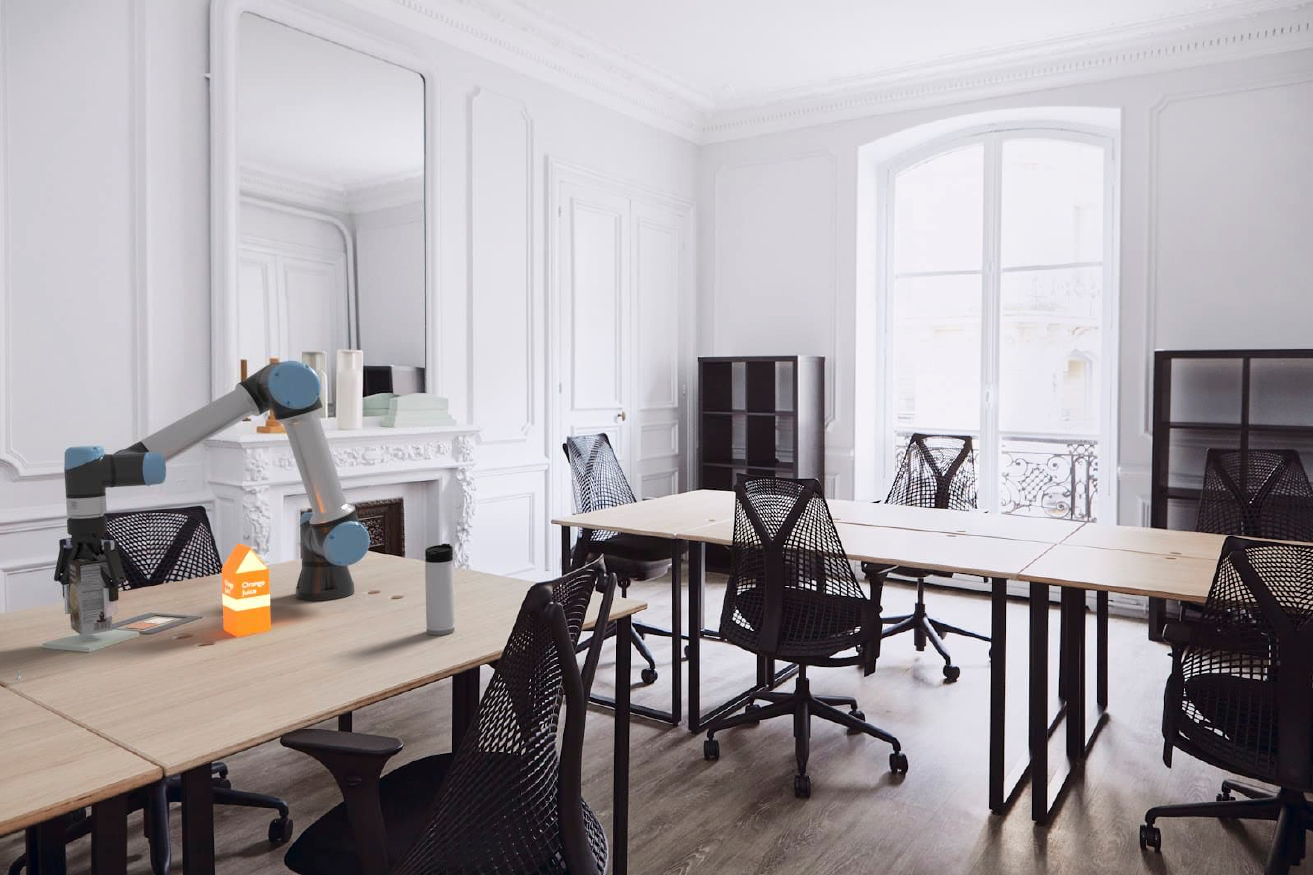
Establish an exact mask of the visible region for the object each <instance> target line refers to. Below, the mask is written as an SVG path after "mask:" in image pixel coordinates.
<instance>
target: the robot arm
mask: <svg viewBox="0 0 1313 875" xmlns="http://www.w3.org/2000/svg"><path fill="white" fill-rule="evenodd" d="M321 385H322V384H321V379H320V377H319V375H318V373H317V372H316V371H315V370H314V369H313V368H312V367H311V366H309V365H307V364H306V363H304V362H300V361H297V360H287V361H278V362H272V363H269V364H267V365H266V366H264V367H262V368H260V369H259V370H258V371H257V372H254V373H253V374H251V375H250V376H249V377H247V378H245V379H244V380H242V381H240V382H238V383H236V384H235V388H234V390H232V391H230V392H229V393H227V394H224V395H222V396H221V397H219V398H217V399H215V400H213V401H211V402H210V403H208V404H206V405H204V406H202V407H200V408H198V409H197V410H195V411H193V412H191V413H190V414H189V413H188V415H185V416H184V417H182V418H180V419H179V420H176V421H174V422H173V423H171V424H169V425H167V426H165V427H163V428H161V429H160V430H158V431H156V432H153V433H152V434H150V435H148V436H147V437H145V438H143V439H141V440H139V441H138V442H136V443H134V444H131V445H130V446H128V447H126V448H121V449H120V450H117V451H115V452H114V453H113V454H111V453H110V454H108V453H106V452H105V449H104V447H102V446H101V445H90V446H89V445H84V446H72V447H68V448H66V449H65V451H64V461H63V462H64V467H63V470H64V486H65V502H66V503H65V504H66V515H67V516H68V518H67V519H66V528H67V529H66V530H67V531H66V532H67V534H68V535H69V536H70V537H67V538H61V539H59V540H58V544H59V552H58V557H57V561H56V567H55V571H54V576H53V581H55V582H59V583H60V585H61V586H62V597H63V599H64V614H65V615H70V599H69V578H68V576H69V567H68V559H72V560H75V559H79V558H84V557H86V558H90V559H91V561H101V560H105V559H106V562H107V565H108V568H106V567H104V566H102V565H100V569H101V576H102V578H103V580H104V582H105V584H106V586H105V587H104V588H103V593H104V615H105V617H110V616H112V617H114V616H116V615H118V611H119V610H118V601H119V598H120V596H119V586H120V585H122V584H125V583H126V582H127V578H126V574H125V571H124V568H123V565H122V561H121V558H120V553H119V551H118V541H117V539H112V540H106V537H105V533H107V531H108V517H107V515H104V514H106V513H107V510H108V509H107V507H108V506H107V495H106V493H107V492H106V490H107V488H119V487H120V488H123V487H137V486H139V487H142V486H147V487H150V486H155V485H162V484H163V483H164V482H165V481H166V478H167V477H166V475H167V464H166V463H168V462H169V461H170V462H171V461H172V460H173V459H175V458H177V457H178V456H181V455H183V454H184V453H186V452H189V451H190V450H192V449H193V448H195V447H197V446H198V445H201V444H202V443H204V442H206V441H208V440H209V439H211V438H213V437H215V436H216V435H217V436H218V434H221V433H222V432H224V431H226V430H228V429H230V428H231V427H233V426H235V425H237V424H238V423H240V422H242V421H244V420H246V419H247V418H249V417H251V416H255V417H259V416H262V415H263V414H264V413H267V412H269V411H272V413H273V416H274V420H275V421H276V422H277V423H280V424H281V425H283V427H284V430H285V432H286V435H287V437H288V441H289V445H290V447H291V451H292V454H293V456H294V459H295V463H296V465H297V468H298V471H299V475H300V477H301V481H302V483H303V487H304V490H305V494H306V497H307V499H308V502H309V505H310V509H311V511H312V512H311V511H310V512H304V513H302V515H301V516H300V523H299V528H300V546H301V547H300V549H301V551H300V552H301V553H300V554H301V570H300V573H299V577H298V580H297V584H296V586H295V598H296V599H298V600H303V601H327V600H335V599H340V598H346V597H348V596H352V595H353V594H354V593H355V583H354V581H353V577H352V575H351V572H350V569H349V567H348V566H352V565H355V564H357V563H358V562H360V561H361V560H362V559H363V558H364V557H365V556H366V554H367V552H368V550H369V547H370V544H371V542H370V541H371V539H370V538H371V537H370V533H369V531H368V529H366V527H365V526H364V525H363V524H362V523H361V522H360V520H359V517H358V514H357V510H356V507H355V506H354V505H351V504H349V503H348V502H347V498H346V496H345V493H344V490H343V487H342V483H341V481H340V477H339V474H338V471H337V468H336V464H335V462H334V459H333V455H332V453H331V448H330V446H329V444H328V439H327V436H326V433H325V430H324V428H323V425H322V421H321V419H320V414H321V411H322V410H324V406H323V405H322V401H321V397H320V394H321V391H322V386H321Z"/></svg>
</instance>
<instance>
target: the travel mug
mask: <svg viewBox="0 0 1313 875" xmlns="http://www.w3.org/2000/svg"><path fill="white" fill-rule="evenodd" d="M424 550H425V551H424V555H425V556H424V557H425V560H424V562H425V565H424V569H425V570H424V571H425V572H424V574H425V577H424V578H425V614H426V615H425V620H426V622H425V623H426V633H427V634H428V635H430V636H446V635H450V634H453V633H454V632H455V587H454V584H455V582H454V556H453V555H454V553H453V552H454V549H453V546H452V545H451V544H450V543H441V544H438V545H437V544H436V545H432V546H428V547H426V549H424Z"/></svg>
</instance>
